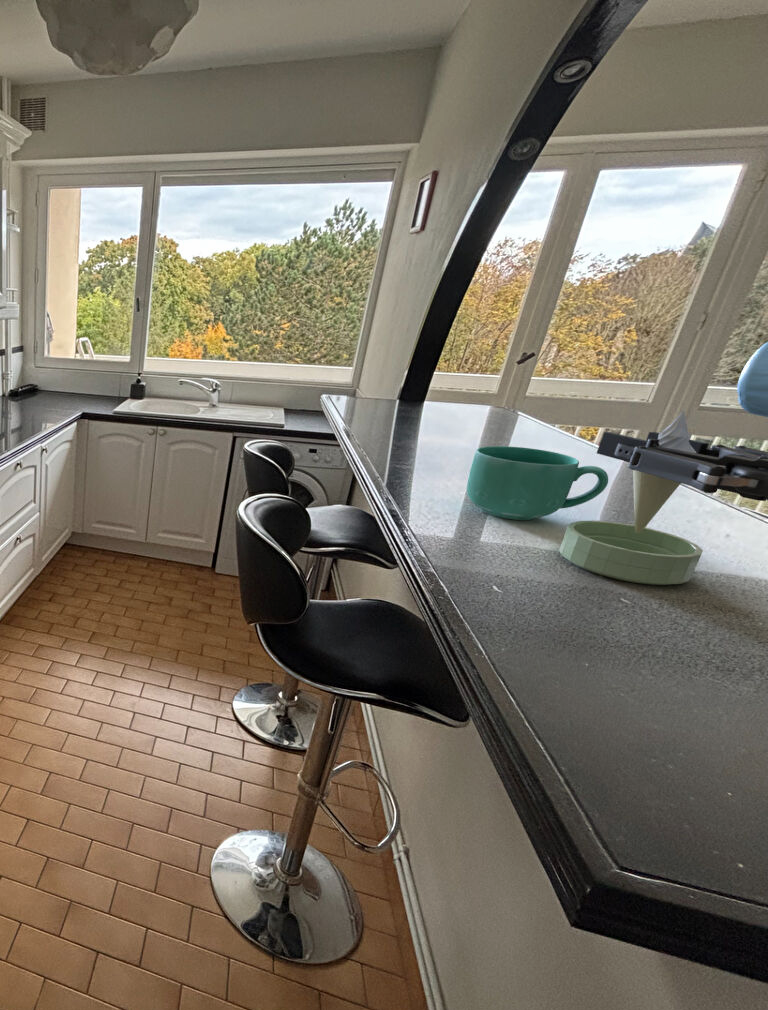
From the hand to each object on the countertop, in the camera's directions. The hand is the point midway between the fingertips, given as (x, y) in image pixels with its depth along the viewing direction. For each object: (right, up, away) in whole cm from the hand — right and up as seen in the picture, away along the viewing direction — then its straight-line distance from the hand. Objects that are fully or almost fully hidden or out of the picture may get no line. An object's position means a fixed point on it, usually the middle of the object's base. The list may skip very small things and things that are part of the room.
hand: (625, 442), depth 74 cm
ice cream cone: (0, -11, -1) cm, 12 cm away
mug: (+2, -9, +19) cm, 21 cm away
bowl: (0, -16, +1) cm, 16 cm away
